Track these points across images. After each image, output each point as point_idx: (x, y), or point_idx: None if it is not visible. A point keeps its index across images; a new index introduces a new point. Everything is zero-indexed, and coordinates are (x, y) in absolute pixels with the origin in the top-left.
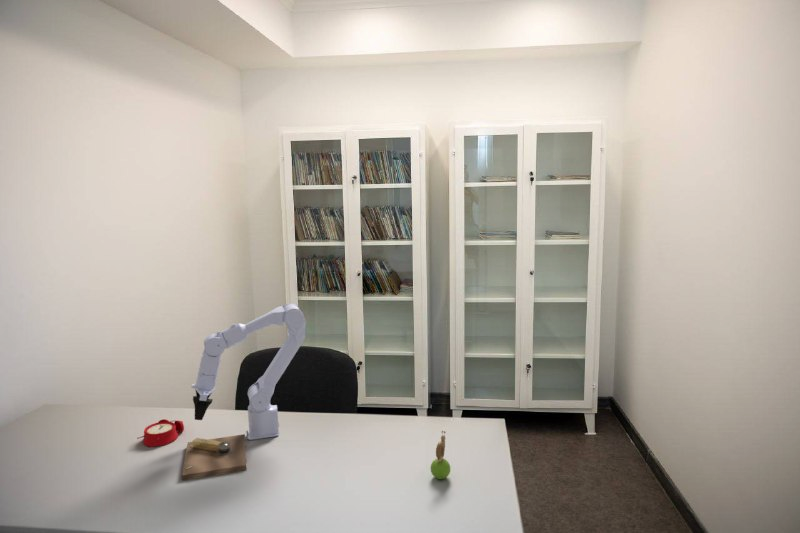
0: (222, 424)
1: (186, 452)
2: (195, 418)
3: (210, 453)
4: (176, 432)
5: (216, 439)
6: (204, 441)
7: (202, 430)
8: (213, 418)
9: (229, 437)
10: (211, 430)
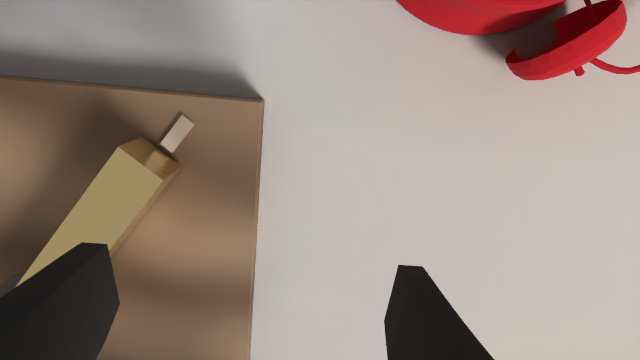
0: (503, 311)
1: (97, 91)
2: (66, 256)
3: (38, 238)
4: (480, 21)
5: (233, 281)
6: (78, 232)
7: (479, 195)
8: (630, 268)
9: (231, 351)
10: (449, 247)
